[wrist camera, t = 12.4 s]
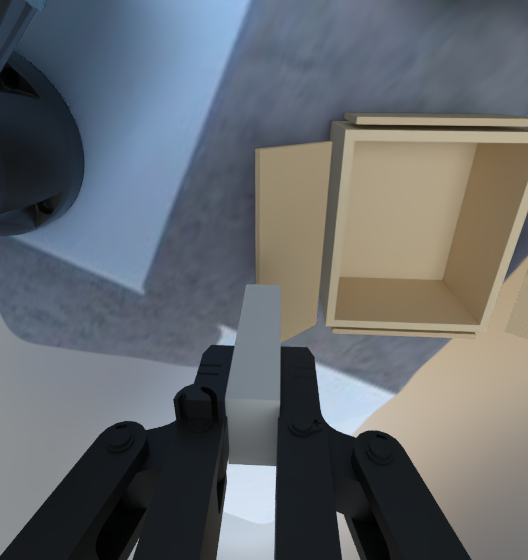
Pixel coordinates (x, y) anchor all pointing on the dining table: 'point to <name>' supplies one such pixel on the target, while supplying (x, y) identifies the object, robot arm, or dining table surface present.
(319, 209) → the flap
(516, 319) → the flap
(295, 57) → the dining table surface
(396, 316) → the carton
